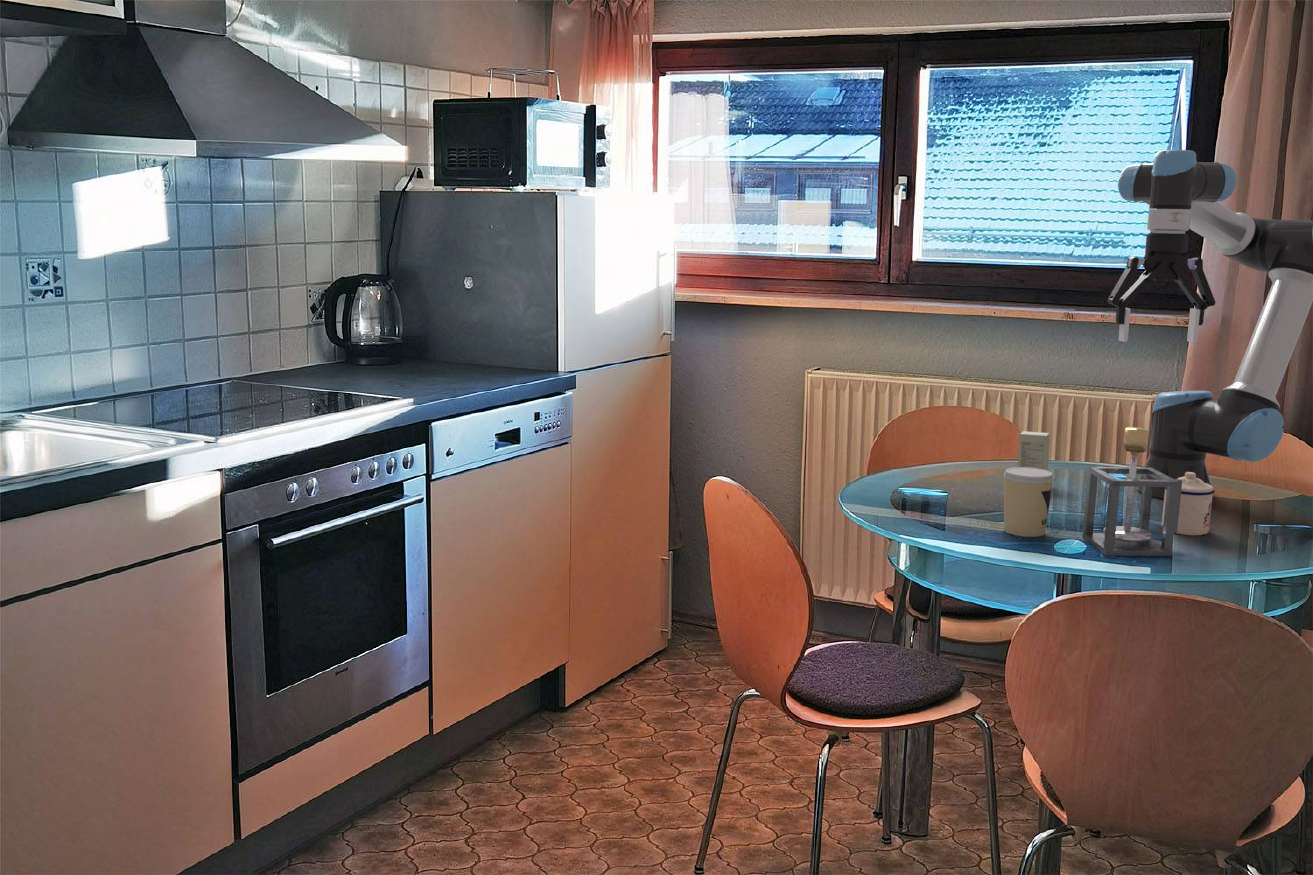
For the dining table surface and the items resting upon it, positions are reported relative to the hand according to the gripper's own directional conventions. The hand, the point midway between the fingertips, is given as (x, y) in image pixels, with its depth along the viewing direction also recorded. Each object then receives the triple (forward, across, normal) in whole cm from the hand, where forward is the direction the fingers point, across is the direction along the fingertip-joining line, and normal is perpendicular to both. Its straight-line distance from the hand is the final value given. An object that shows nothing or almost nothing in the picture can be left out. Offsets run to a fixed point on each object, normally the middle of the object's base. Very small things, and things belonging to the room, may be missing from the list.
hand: (1157, 341), depth 235 cm
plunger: (+35, -10, -18) cm, 40 cm away
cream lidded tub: (+37, -26, -8) cm, 46 cm away
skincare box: (+37, -12, +32) cm, 50 cm away
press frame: (+37, -8, -18) cm, 42 cm away
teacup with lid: (+37, +7, -4) cm, 38 cm away
